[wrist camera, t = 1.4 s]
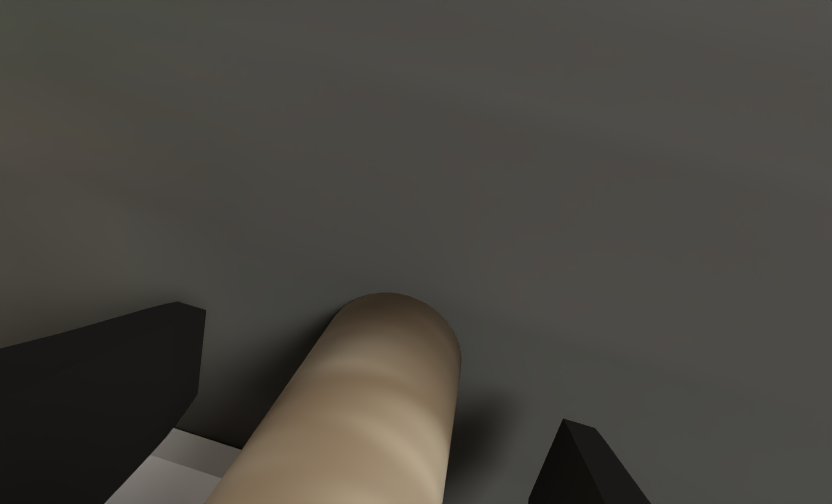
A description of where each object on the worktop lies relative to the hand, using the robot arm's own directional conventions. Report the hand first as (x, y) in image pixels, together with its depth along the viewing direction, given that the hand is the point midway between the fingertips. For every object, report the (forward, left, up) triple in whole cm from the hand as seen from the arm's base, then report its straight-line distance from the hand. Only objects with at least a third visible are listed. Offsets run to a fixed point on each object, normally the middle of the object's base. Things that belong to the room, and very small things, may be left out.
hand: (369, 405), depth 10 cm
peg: (0, 0, -2) cm, 2 cm away
